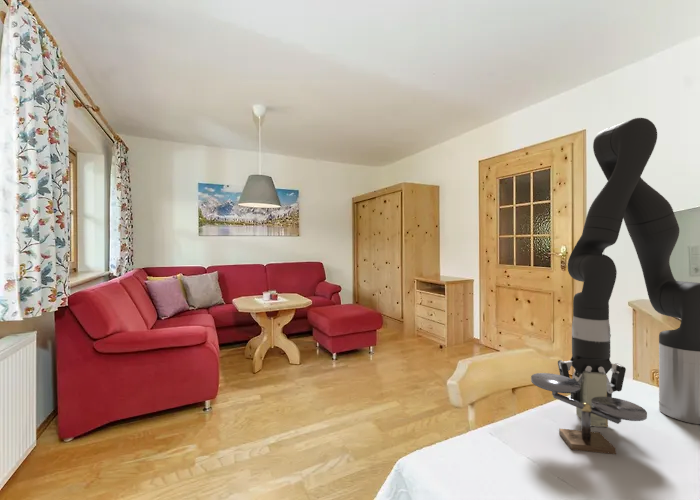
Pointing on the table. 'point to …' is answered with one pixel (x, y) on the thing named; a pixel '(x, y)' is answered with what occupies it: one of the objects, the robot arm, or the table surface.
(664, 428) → the table surface
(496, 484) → the table surface
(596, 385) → the skincare box
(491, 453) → the table surface
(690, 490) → the table surface
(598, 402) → the balance
